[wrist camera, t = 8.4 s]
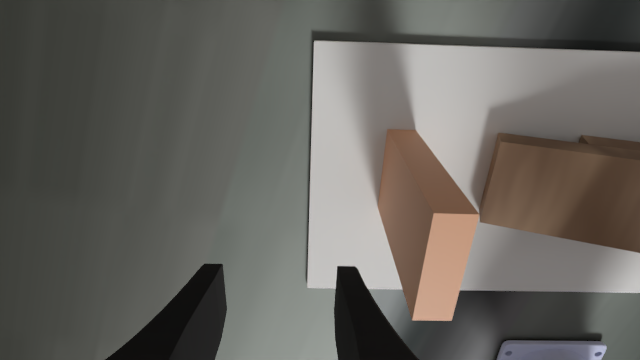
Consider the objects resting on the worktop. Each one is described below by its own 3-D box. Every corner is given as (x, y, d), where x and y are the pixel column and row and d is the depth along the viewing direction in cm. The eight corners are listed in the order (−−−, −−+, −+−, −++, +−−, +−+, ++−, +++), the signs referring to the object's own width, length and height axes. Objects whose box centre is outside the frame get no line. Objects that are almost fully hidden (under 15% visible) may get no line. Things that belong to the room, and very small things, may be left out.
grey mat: (723, 290, 27) (729, 294, 27) (307, 283, 26) (307, 287, 26) (874, 60, 20) (884, 61, 20) (313, 40, 19) (314, 41, 19)
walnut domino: (498, 132, 21) (693, 157, 19) (478, 209, 24) (651, 241, 21) (501, 141, 20) (711, 170, 18) (479, 222, 22) (664, 257, 20)
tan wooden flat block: (415, 130, 21) (479, 214, 13) (403, 207, 23) (451, 320, 15) (387, 129, 21) (433, 213, 13) (377, 207, 23) (412, 320, 15)
